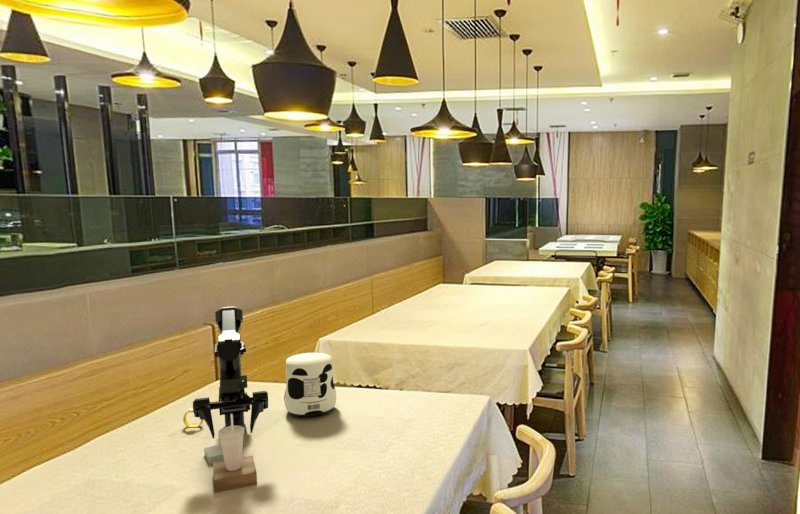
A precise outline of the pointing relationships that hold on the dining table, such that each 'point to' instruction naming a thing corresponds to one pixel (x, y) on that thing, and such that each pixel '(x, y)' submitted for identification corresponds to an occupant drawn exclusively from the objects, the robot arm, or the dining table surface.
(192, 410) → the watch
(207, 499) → the dining table surface
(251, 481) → the walnut block
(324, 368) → the milk container
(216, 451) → the grey tile
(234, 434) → the smoothie
